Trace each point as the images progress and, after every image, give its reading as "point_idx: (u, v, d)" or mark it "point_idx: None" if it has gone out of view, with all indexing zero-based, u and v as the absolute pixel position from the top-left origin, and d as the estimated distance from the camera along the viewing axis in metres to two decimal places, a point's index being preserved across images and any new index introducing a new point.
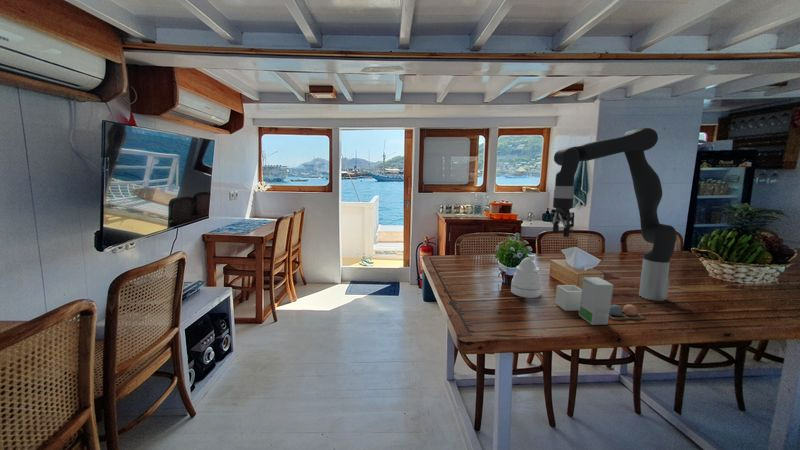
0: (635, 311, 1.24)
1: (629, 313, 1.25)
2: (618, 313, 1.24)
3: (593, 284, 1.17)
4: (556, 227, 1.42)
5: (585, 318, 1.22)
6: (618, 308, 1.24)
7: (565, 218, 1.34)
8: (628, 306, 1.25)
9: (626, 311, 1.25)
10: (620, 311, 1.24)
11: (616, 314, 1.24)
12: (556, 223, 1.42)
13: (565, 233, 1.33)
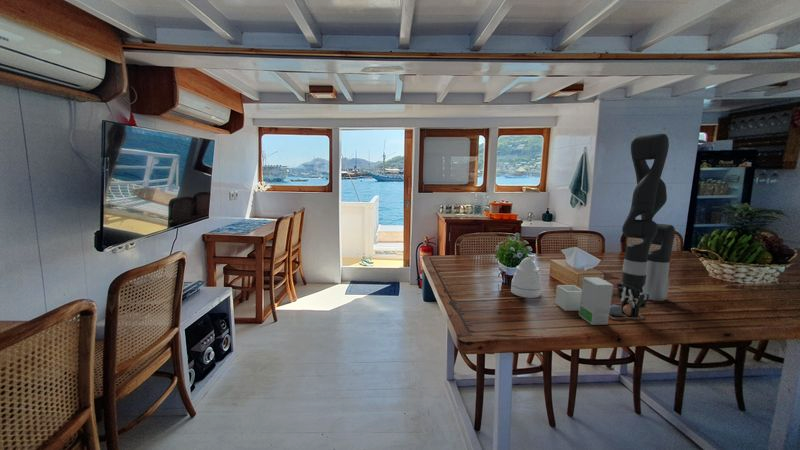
0: None
1: (629, 313, 1.25)
2: (618, 313, 1.24)
3: (593, 284, 1.17)
4: None
5: (585, 318, 1.22)
6: (618, 308, 1.24)
7: None
8: (628, 306, 1.25)
9: (626, 311, 1.25)
10: (620, 311, 1.24)
11: (616, 314, 1.24)
12: (626, 300, 1.28)
13: (634, 313, 1.23)
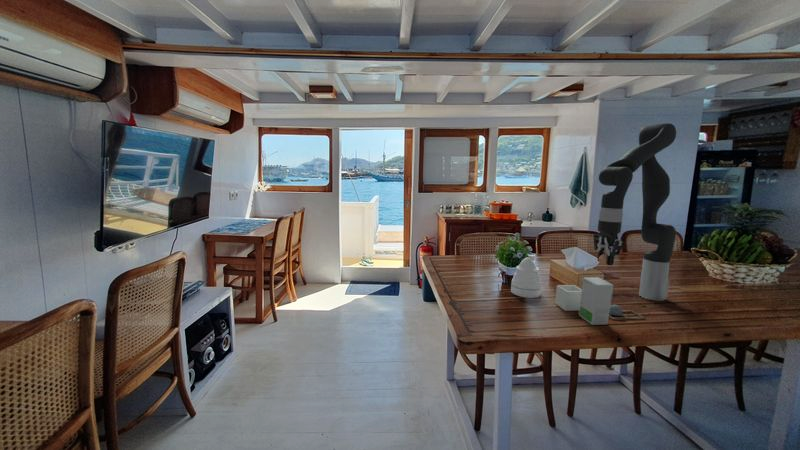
0: None
1: (604, 262, 1.25)
2: (618, 313, 1.24)
3: (593, 284, 1.17)
4: None
5: (585, 318, 1.22)
6: (618, 308, 1.24)
7: None
8: (603, 255, 1.25)
9: (601, 260, 1.25)
10: (620, 311, 1.24)
11: (616, 314, 1.24)
12: (602, 250, 1.28)
13: (609, 261, 1.23)
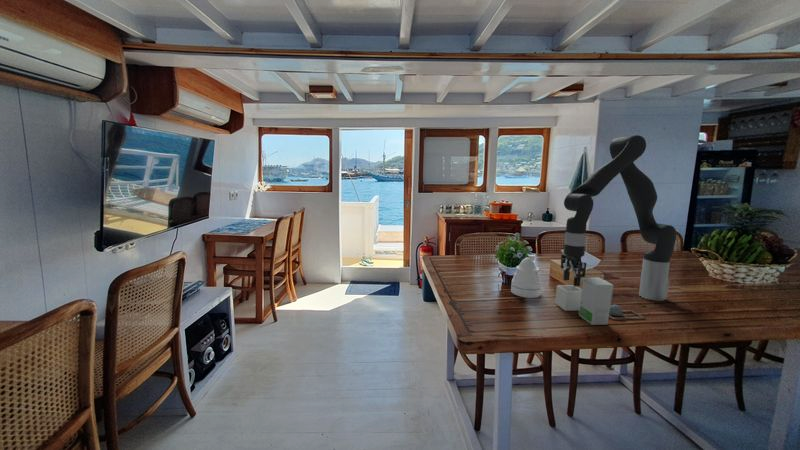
0: None
1: None
2: (618, 313, 1.24)
3: (593, 284, 1.17)
4: (567, 274, 1.36)
5: (585, 318, 1.22)
6: (618, 308, 1.24)
7: (576, 266, 1.29)
8: None
9: None
10: (620, 311, 1.24)
11: (616, 314, 1.24)
12: (567, 270, 1.36)
13: (576, 283, 1.28)
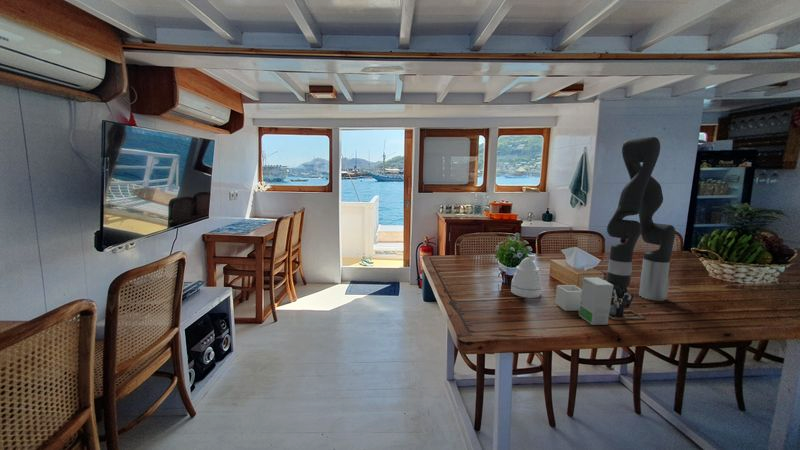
0: None
1: None
2: None
3: (593, 284, 1.17)
4: None
5: (585, 318, 1.22)
6: None
7: None
8: None
9: None
10: None
11: None
12: (611, 300, 1.28)
13: (618, 313, 1.23)
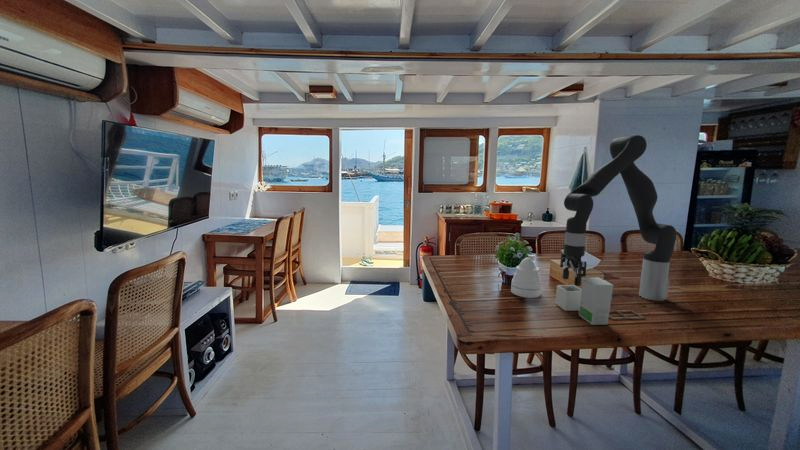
0: None
1: None
2: None
3: (593, 284, 1.17)
4: (566, 273, 1.36)
5: (585, 318, 1.22)
6: None
7: (576, 266, 1.29)
8: None
9: None
10: None
11: None
12: (566, 269, 1.36)
13: (576, 282, 1.28)
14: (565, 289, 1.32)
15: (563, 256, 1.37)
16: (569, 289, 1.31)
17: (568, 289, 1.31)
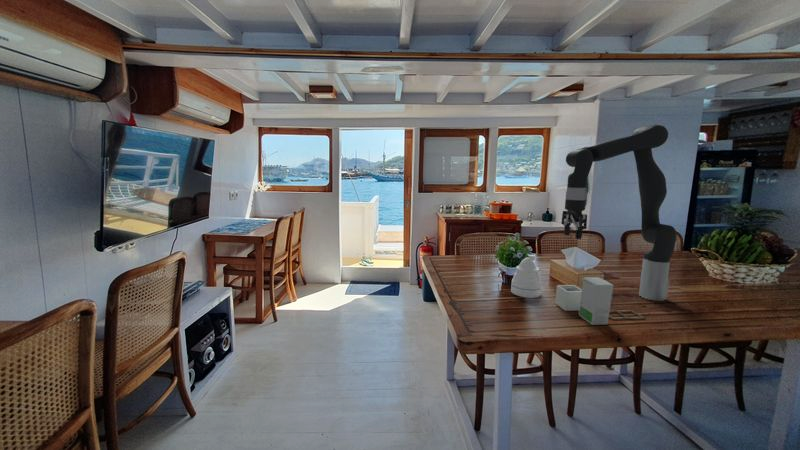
0: None
1: None
2: None
3: (593, 284, 1.17)
4: (567, 229, 1.41)
5: (585, 318, 1.22)
6: None
7: (577, 220, 1.33)
8: None
9: None
10: None
11: None
12: (567, 225, 1.41)
13: (577, 235, 1.32)
14: (565, 289, 1.32)
15: (564, 213, 1.41)
16: (569, 289, 1.31)
17: (568, 289, 1.31)
